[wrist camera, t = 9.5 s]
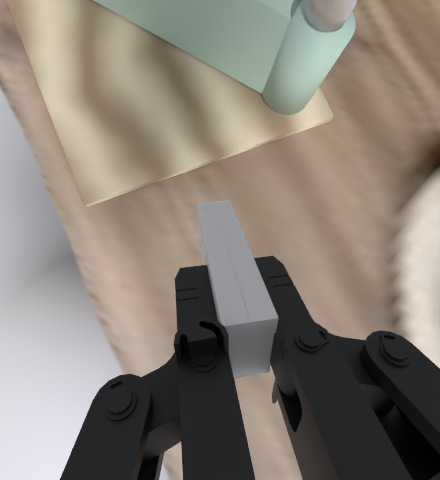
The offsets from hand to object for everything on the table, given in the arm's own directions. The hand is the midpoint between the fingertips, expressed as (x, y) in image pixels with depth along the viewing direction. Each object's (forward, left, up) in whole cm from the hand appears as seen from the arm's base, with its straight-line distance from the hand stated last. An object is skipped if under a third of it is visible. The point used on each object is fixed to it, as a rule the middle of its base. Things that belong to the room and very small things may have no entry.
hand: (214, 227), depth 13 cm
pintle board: (-5, -22, -13) cm, 26 cm away
